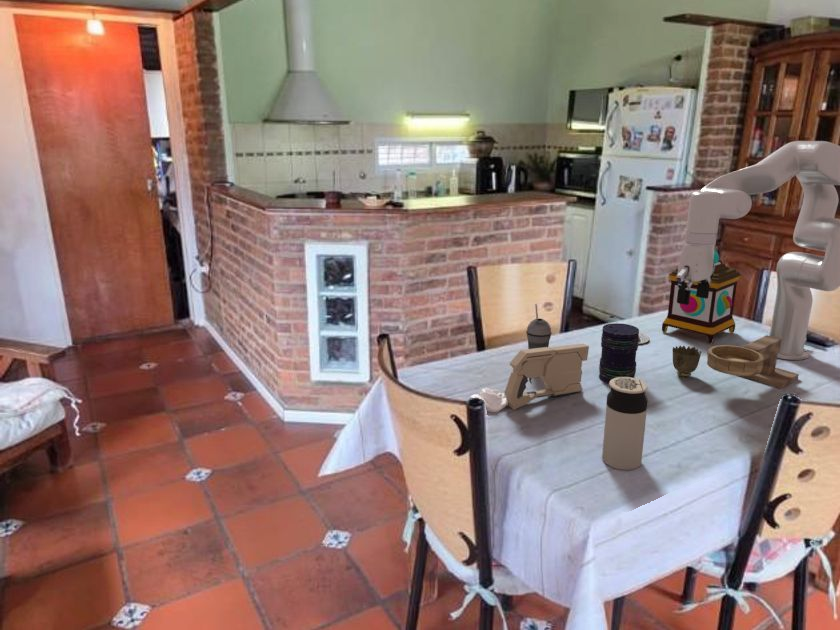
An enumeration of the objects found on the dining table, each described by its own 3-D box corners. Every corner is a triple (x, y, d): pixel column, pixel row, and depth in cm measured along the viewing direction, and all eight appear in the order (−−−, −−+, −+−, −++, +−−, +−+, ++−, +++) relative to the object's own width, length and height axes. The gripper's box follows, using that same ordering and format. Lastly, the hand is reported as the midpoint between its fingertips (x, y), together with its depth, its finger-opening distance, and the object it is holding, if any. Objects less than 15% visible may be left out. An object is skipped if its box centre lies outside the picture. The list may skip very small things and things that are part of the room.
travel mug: (600, 467, 124) (606, 389, 118) (603, 448, 131) (609, 374, 125) (640, 474, 121) (649, 394, 115) (641, 454, 128) (649, 378, 122)
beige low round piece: (616, 332, 205) (617, 320, 204) (652, 337, 199) (653, 325, 198) (607, 342, 196) (608, 329, 194) (645, 348, 190) (646, 335, 188)
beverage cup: (544, 375, 170) (547, 309, 164) (521, 370, 174) (523, 306, 168) (553, 367, 176) (556, 303, 170) (530, 362, 179) (532, 299, 173)
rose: (467, 394, 149) (473, 379, 158) (467, 410, 150) (473, 394, 159) (507, 397, 146) (510, 382, 155) (506, 413, 148) (510, 397, 157)
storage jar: (640, 377, 167) (646, 317, 162) (625, 388, 160) (631, 326, 155) (607, 369, 173) (612, 310, 168) (592, 379, 167) (596, 319, 161)
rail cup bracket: (746, 364, 174) (752, 327, 171) (797, 379, 164) (805, 340, 160) (691, 391, 157) (696, 351, 154) (744, 410, 147) (751, 367, 143)
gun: (509, 411, 149) (515, 355, 145) (502, 406, 151) (507, 351, 148) (583, 398, 160) (590, 346, 156) (574, 393, 163) (581, 342, 159)
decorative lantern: (684, 320, 215) (693, 239, 206) (740, 333, 201) (753, 246, 192) (655, 332, 203) (664, 246, 194) (712, 347, 189) (725, 255, 180)
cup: (702, 381, 164) (706, 354, 161) (675, 381, 164) (679, 354, 162) (691, 370, 171) (694, 345, 168) (665, 371, 171) (668, 345, 169)
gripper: (704, 233, 163) (696, 292, 169) (669, 240, 154) (662, 303, 159) (731, 236, 158) (722, 298, 163) (696, 244, 148) (688, 309, 153)
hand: (692, 300), depth 161 cm, fingers open, 9 cm apart
